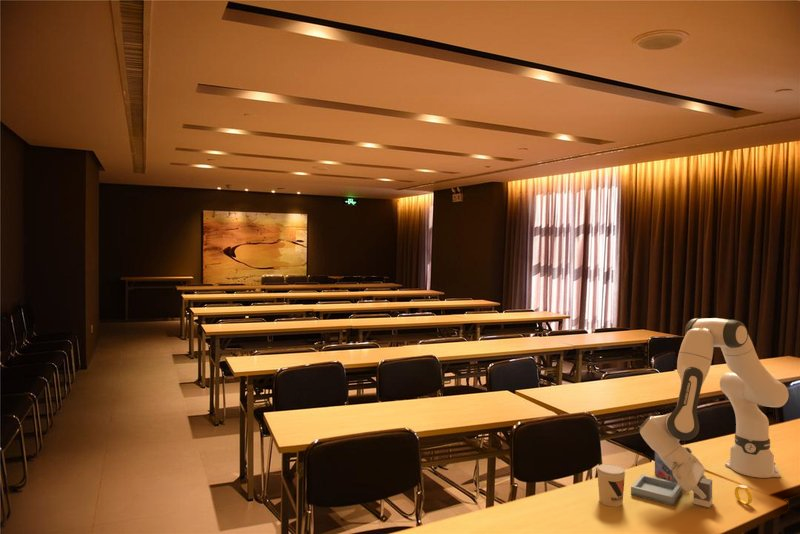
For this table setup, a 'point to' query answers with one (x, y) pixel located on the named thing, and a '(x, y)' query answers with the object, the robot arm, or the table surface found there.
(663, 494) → the slate tray
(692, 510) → the table surface
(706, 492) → the block
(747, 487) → the watch
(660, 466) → the ink cartridge box
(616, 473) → the coffee cup
